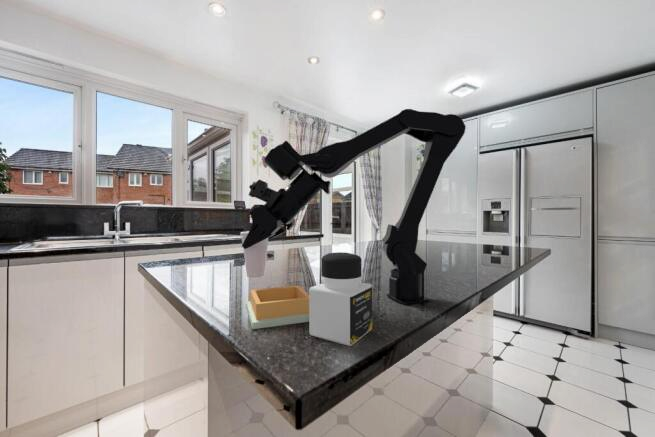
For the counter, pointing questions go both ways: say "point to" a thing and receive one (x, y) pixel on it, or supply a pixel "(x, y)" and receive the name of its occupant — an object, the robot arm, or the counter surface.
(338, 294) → the medicine bottle
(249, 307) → the box
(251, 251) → the smoothie
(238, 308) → the counter surface
